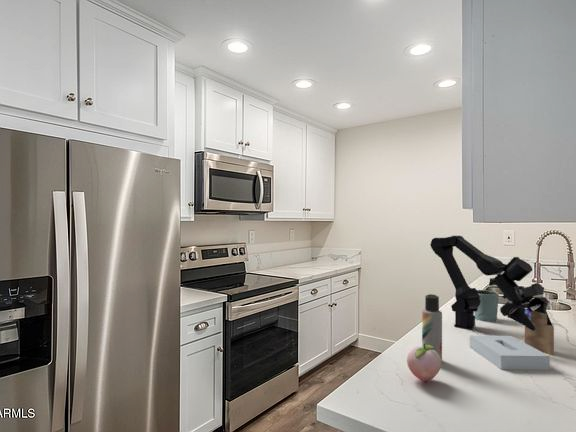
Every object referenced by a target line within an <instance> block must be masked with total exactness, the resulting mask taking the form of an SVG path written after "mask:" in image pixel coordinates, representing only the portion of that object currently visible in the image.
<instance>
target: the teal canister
mask: <svg viewBox="0 0 576 432" xmlns="http://www.w3.org/2000/svg"><path fill="white" fill-rule="evenodd" d="M476 290H477V293H478V295H479V296H480V301H481V303H480V305H479V307H478V309H477V311H476V312H474V316H475V320H477V321H481V322H487V323H488V322H489V323H496V322H497V321H498V310H499V308H498V307H499V295H500V293H499V292H498V291H494V290H486V289H476Z"/></svg>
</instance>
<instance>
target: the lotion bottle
mask: <svg viewBox="0 0 576 432" xmlns="http://www.w3.org/2000/svg"><path fill="white" fill-rule="evenodd" d="M424 297H425V300H424V301H425V304H424V305H425V307H424V309H423V310H421V312H422V313H421V315H422V316H421V319H422V320H421V338H422V339H421V347H423V346H424V344H425V345H431V346H433V347H434V348H435V349H433V350H435V351H436V352H437V353H438V354H439V356H440V358H441V363H442V361H443V312H442V311H441V310H440V299H439V298H440V296H438V295H436V294H430V293H429V294H427V295H425V296H424Z"/></svg>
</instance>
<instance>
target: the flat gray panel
mask: <svg viewBox="0 0 576 432" xmlns="http://www.w3.org/2000/svg"><path fill="white" fill-rule="evenodd" d="M469 348H470V349H471V350H473V351H474V352H476V353H477V354H478V355H480V356H481V357H483V358H485V359H486V360H487V361H488V362H490V363H491V364H493V365H494V366H495V367H497V368H498V369H500V370H523V371H524V370H525V371H526V370H529V371H530V370H532V371H533V370H534V371H541V370H542V371H550V369H551V367H550V364H551V363H550V359H551V357H550V356H551V355H549V354H546V353H543V352H541V351H539V350H537V349H535V348H533V347H531V346H529V345H528V344H526V343H525V341H521V340H520V339H518V338H516V337H515V336H512V335H479V334H478V335H477V334H476V335H469Z"/></svg>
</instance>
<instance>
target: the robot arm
mask: <svg viewBox="0 0 576 432" xmlns="http://www.w3.org/2000/svg"><path fill="white" fill-rule="evenodd" d="M454 247H455V248H456V249H457V250H459V251H461V253H463V254H464V255H465V256H467V257H468V258H469V259H470V260H471V261H473V262H474V263H475V265H476V267H477V269H478V270H479V271H480V272H481V273H482V274H483V275H484V276H495V277H491V278H489V283H488V286H490V287H493V286H497V288H498V290H499V291H500V292H501V293H502V294H503V295H502V298H503V300H505V299H507V300H508V301H507V302H506V303H504V304H503V305H502V306H500V309H499V311H500V313H501V315H502V316H503V317H507V318H508V319H511V320H513V321H515V322H517V323H519V324H521V325H522V326H524V328H525V327H527V328H529V329H531V330H532V331H534V330H535V327H534V325H533V324H532V322H531V321H530V319H529V318H528V317H527V315H526V314H525V309H528V310H529V311H531V312H532V311H536V312H541V313H545V314H547V325H551V326H554V325H553V324H552V321H551V318H550V317H549V314H548V312H547V307H548V306H549V303H550V301H549V300H548V299H547V298H546V297H545V296H539V295H544V294H545V293H544V291H545V287H544V286H542V284H540V283H539V282H537V283H535V282H534V283H533V284H531V285H529V286H527V287H524V286H522V285H520V286H519V284H518V283H517V282H521V281H522V280H523V279H524V278H526V276H528V275H529V274H530V273H531V272H532V271H533V267H532V266H531V264H530V263H528V262H527V261H525V260H523V259H521V258H520V257H519V256H513V258H512V259H511V260H510V261H509V262H508V263H507V264H506V263H503V262H502V261H501V260H500V259H498V258H496V257H494V256H491V255H488V254H485V253H484V252H482V251H481V250H480V249H479V248H477V247H476V246H474V245H473V244H472V243H470V242H469V241H468V240H466V239H465V238H464V236H462V235H452V236H448V237H434V238H432V239H431V241H430V248H431V250H432V252H434V253H433V254H435V255H436V256H437V257H439V258H440V260H441V261H442V264H443V265H444V267H445V269H446V272H447V274H448V276H449V278H450V280H451V282H452V284H453V286H454V289H455V300H456V301H455V302H454V303H452V305H451V306H450V308H451V309H452V312H454V315H455V318H454V319H455V322H454V323H455V324H454V325H453V327H456V328H462V329H466V330H473V329H474V327H476V319H475V313H474V312H476V311H477V309H478V307H479V305H480V303H481V301H480V296H479V295H478V293H477V290H478V289H476V287H474V288H473V287H470V286H469V285H468V283H467V281H466V279H465V276H464V275H463V273H462V271H461V269H460V266H459V265H458V263H457V261H456V259H455V257H454ZM534 296H535V297H534ZM536 296H537V297H536Z"/></svg>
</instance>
